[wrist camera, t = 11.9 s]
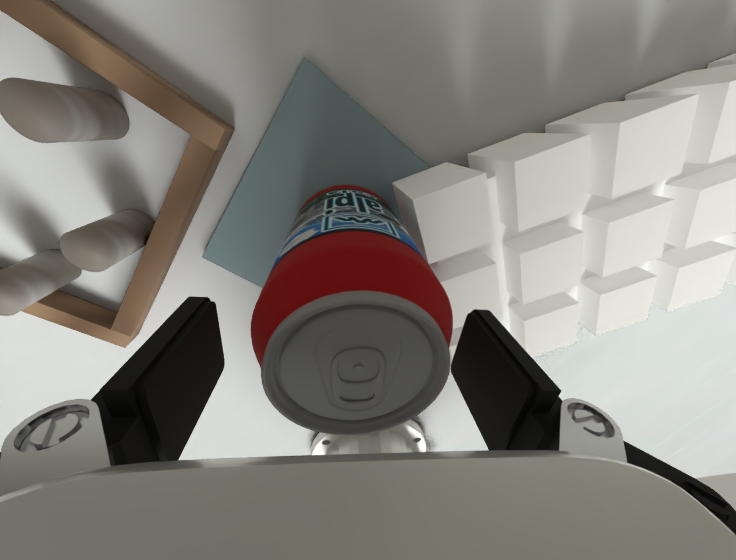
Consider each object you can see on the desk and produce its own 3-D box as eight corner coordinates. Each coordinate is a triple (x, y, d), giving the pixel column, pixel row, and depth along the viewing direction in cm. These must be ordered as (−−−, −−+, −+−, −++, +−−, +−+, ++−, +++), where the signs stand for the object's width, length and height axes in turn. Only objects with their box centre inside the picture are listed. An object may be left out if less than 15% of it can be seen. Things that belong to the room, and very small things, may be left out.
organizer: (412, 200, 13) (1255, -114, 11) (391, 182, 17) (997, -46, 15) (458, 382, 19) (994, 202, 17) (435, 336, 23) (864, 188, 21)
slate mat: (474, 206, 19) (477, 208, 18) (361, 334, 23) (362, 338, 23) (305, 59, 14) (304, 57, 14) (205, 253, 18) (201, 256, 18)
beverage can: (402, 183, 17) (505, 272, 7) (391, 279, 20) (450, 441, 10) (289, 179, 16) (204, 272, 6) (297, 279, 20) (253, 455, 9)
